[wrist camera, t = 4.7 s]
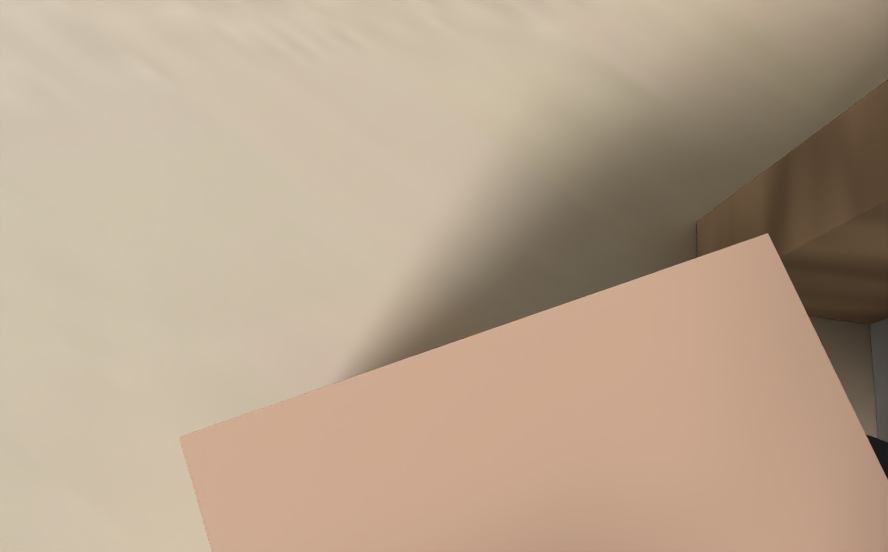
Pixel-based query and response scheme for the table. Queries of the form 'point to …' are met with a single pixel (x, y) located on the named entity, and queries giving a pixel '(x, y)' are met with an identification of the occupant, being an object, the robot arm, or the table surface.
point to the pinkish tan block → (570, 435)
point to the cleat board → (826, 224)
